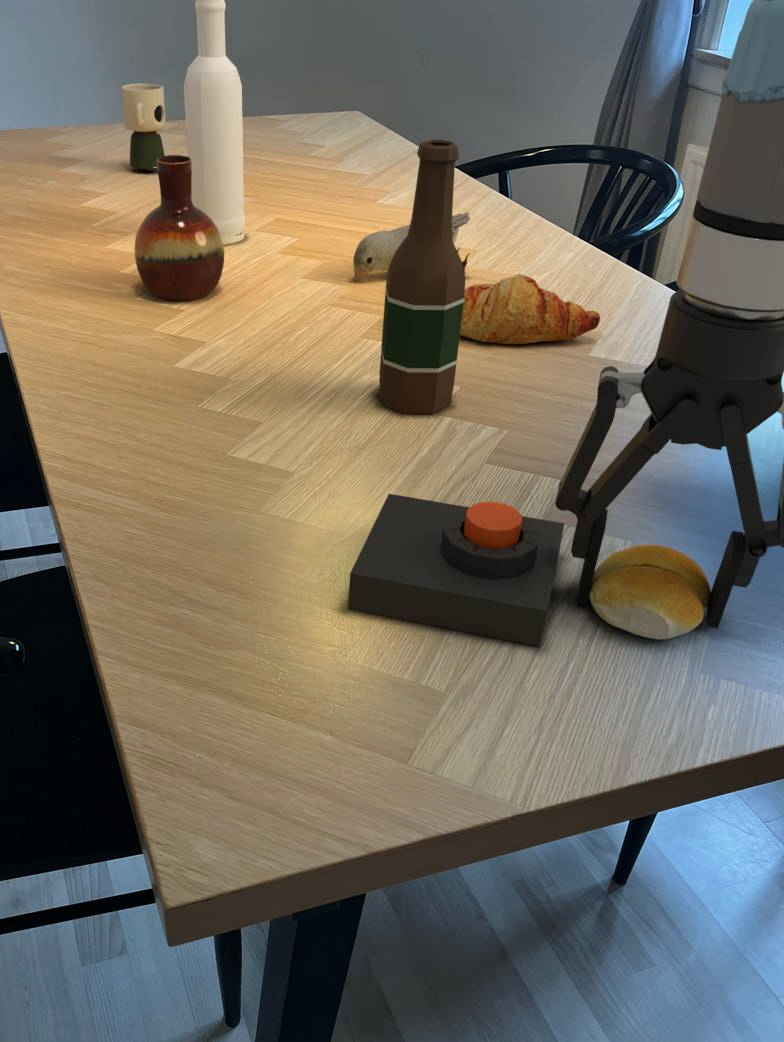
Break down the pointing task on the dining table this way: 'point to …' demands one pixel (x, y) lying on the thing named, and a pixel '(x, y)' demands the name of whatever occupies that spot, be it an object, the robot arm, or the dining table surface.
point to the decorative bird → (391, 247)
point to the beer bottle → (424, 295)
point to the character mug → (144, 123)
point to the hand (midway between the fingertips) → (646, 604)
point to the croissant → (521, 313)
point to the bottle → (215, 125)
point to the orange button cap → (492, 525)
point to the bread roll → (650, 591)
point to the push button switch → (455, 572)
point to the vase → (178, 239)
